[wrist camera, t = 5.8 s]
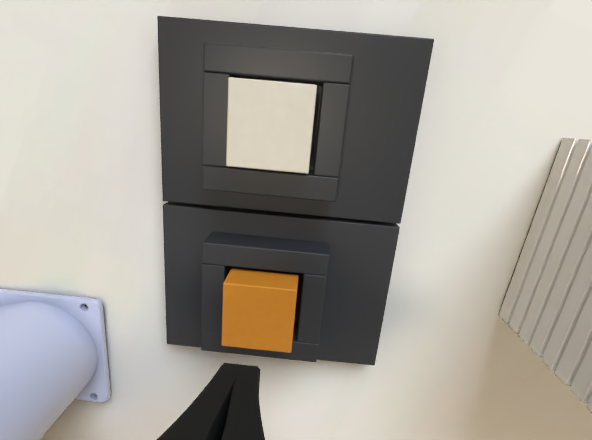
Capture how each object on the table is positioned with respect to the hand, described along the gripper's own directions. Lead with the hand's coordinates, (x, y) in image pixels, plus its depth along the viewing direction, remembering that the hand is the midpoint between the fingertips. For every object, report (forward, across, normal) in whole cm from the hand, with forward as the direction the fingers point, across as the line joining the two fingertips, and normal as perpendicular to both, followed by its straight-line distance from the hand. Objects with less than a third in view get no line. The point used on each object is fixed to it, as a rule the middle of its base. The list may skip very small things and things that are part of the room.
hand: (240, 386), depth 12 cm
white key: (+6, 0, -9) cm, 11 cm away
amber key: (+6, 0, 0) cm, 6 cm away
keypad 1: (+9, 0, 0) cm, 9 cm away
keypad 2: (+9, 0, -9) cm, 13 cm away
